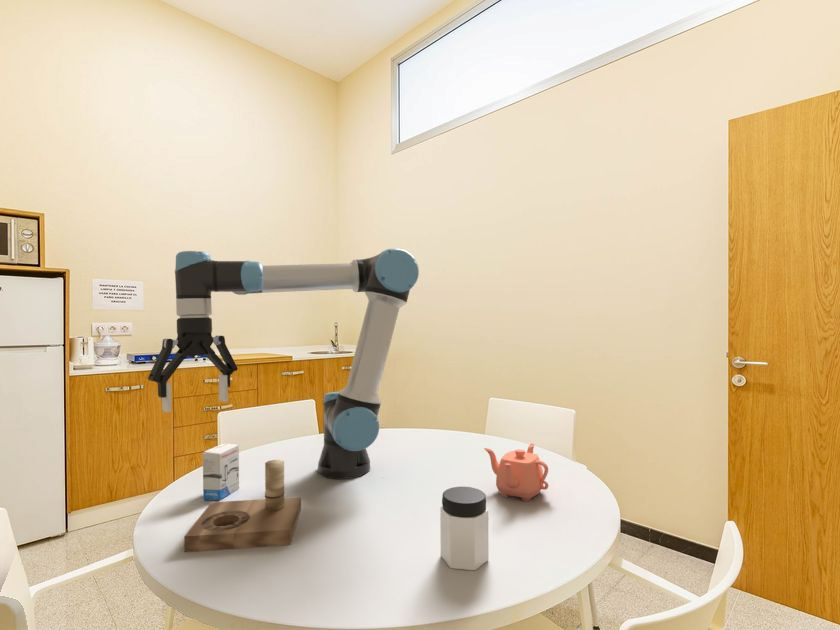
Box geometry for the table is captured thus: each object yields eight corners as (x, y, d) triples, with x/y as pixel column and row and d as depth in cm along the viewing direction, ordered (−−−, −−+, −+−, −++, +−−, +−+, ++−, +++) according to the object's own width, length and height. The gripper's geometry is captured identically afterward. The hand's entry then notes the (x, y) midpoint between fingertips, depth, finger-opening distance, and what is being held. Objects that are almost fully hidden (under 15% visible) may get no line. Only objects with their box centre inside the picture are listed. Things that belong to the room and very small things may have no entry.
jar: (460, 541, 91) (459, 482, 91) (495, 555, 86) (495, 492, 86) (432, 560, 84) (431, 496, 84) (468, 577, 79) (468, 508, 79)
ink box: (219, 501, 111) (219, 453, 111) (202, 499, 112) (201, 452, 112) (240, 488, 120) (239, 443, 120) (223, 486, 121) (223, 442, 121)
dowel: (286, 503, 103) (285, 459, 103) (282, 510, 99) (282, 465, 99) (267, 504, 102) (267, 460, 102) (263, 512, 98) (263, 466, 98)
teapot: (506, 508, 106) (505, 461, 106) (483, 485, 120) (483, 444, 120) (561, 501, 110) (561, 456, 110) (533, 480, 124) (533, 440, 124)
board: (301, 509, 106) (301, 497, 106) (290, 544, 90) (290, 529, 90) (211, 515, 104) (211, 502, 104) (184, 551, 88) (184, 536, 88)
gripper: (233, 315, 120) (235, 395, 120) (129, 318, 100) (132, 414, 100) (250, 315, 116) (252, 398, 116) (144, 318, 96) (147, 418, 96)
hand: (196, 406), depth 108 cm, fingers open, 13 cm apart
